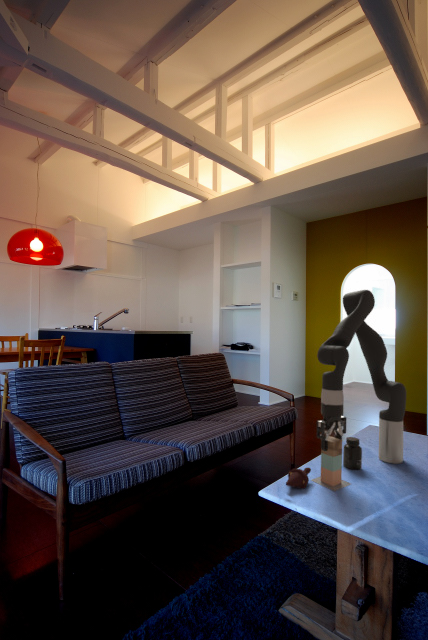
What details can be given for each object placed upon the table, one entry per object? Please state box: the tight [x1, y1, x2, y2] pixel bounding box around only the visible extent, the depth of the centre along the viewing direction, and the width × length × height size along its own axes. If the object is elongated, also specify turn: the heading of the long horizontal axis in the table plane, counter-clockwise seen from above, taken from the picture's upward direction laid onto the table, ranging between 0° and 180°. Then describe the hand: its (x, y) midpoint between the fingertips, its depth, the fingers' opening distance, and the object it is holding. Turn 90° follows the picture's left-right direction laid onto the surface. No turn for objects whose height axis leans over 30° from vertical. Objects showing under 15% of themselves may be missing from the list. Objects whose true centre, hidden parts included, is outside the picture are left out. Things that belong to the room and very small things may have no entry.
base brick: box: [320, 466, 343, 486], centre depth 125 cm, size 5×5×5 cm
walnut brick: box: [320, 435, 343, 457], centre depth 125 cm, size 5×5×5 cm
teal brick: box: [320, 452, 343, 472], centre depth 125 cm, size 5×5×5 cm
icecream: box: [285, 467, 312, 490], centre depth 122 cm, size 7×7×15 cm
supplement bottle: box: [342, 436, 363, 471], centre depth 139 cm, size 7×7×12 cm
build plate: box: [310, 475, 352, 492], centre depth 125 cm, size 10×10×1 cm
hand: (331, 448), depth 125 cm, fingers open, 7 cm apart
